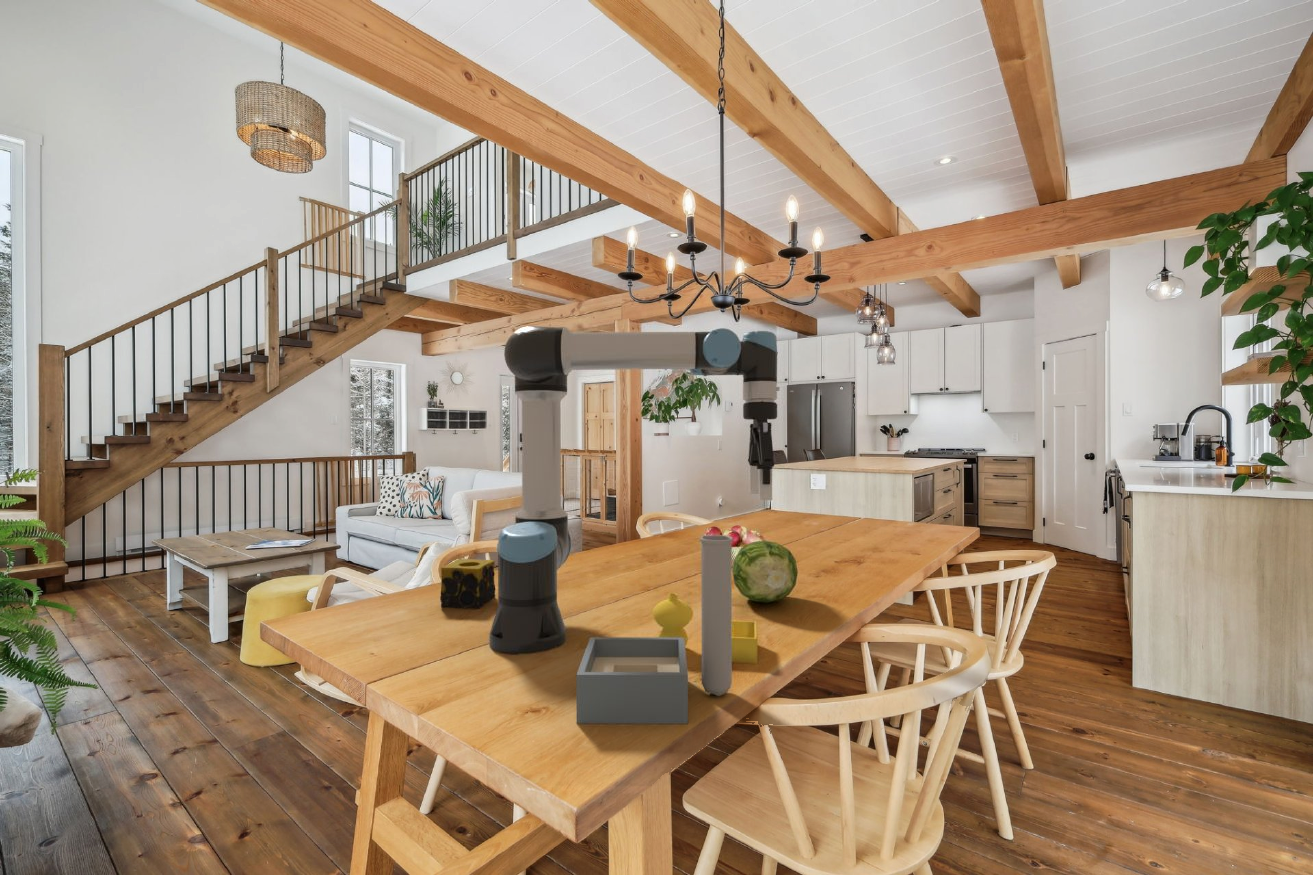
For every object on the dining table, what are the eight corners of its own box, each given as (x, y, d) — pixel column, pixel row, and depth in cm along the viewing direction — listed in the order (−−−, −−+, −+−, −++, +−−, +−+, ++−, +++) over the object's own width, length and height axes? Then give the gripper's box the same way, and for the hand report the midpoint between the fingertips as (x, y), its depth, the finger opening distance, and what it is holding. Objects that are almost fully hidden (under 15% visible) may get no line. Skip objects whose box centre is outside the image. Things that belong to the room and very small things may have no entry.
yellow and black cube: (458, 597, 154) (458, 558, 154) (496, 598, 153) (496, 559, 152) (439, 608, 144) (439, 567, 144) (478, 610, 142) (478, 568, 142)
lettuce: (738, 617, 135) (738, 550, 135) (727, 593, 156) (727, 535, 156) (809, 617, 135) (809, 550, 135) (789, 593, 156) (789, 535, 156)
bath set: (756, 644, 118) (756, 590, 118) (757, 664, 108) (757, 605, 108) (657, 639, 121) (656, 587, 121) (648, 658, 111) (648, 601, 111)
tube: (736, 700, 93) (736, 540, 93) (702, 702, 93) (702, 540, 92) (729, 686, 98) (729, 534, 98) (697, 687, 98) (697, 535, 98)
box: (576, 723, 86) (576, 674, 86) (590, 678, 102) (590, 637, 102) (687, 724, 85) (687, 675, 85) (684, 678, 101) (684, 637, 101)
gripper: (788, 398, 121) (788, 502, 121) (767, 404, 146) (767, 491, 146) (751, 398, 121) (751, 502, 121) (736, 404, 146) (736, 491, 146)
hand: (760, 496), depth 133 cm, fingers open, 13 cm apart
